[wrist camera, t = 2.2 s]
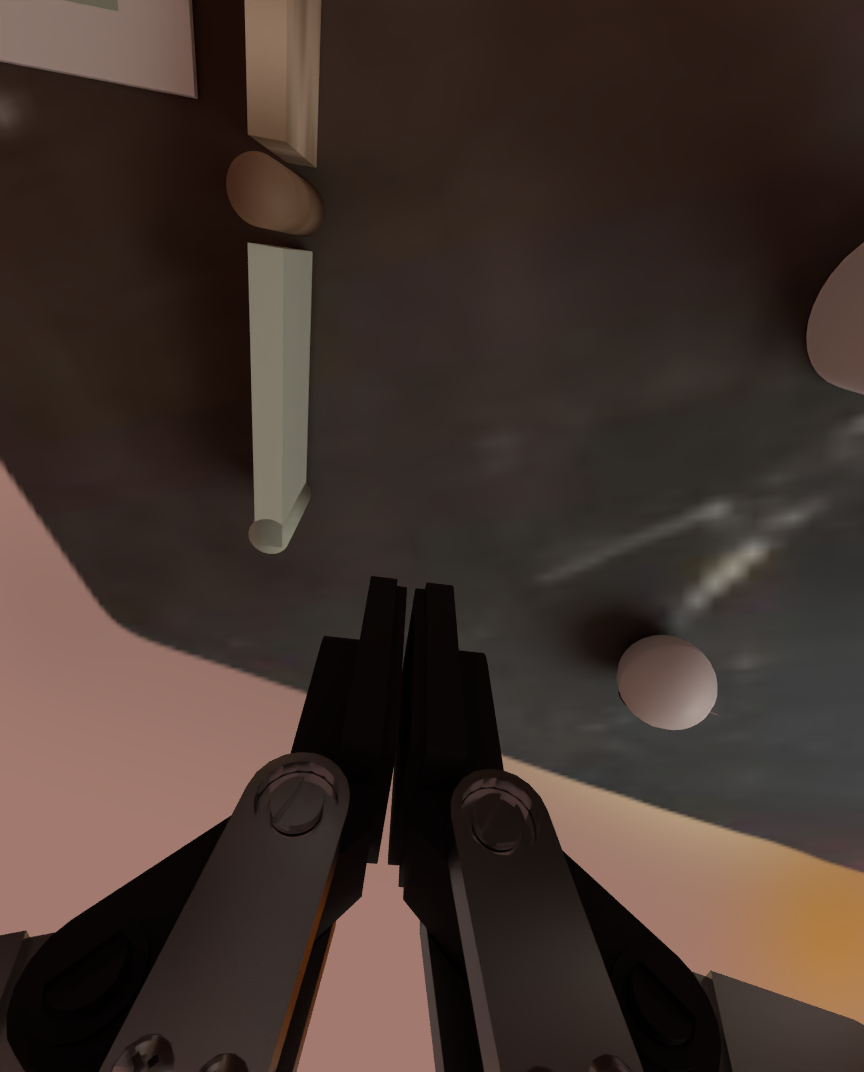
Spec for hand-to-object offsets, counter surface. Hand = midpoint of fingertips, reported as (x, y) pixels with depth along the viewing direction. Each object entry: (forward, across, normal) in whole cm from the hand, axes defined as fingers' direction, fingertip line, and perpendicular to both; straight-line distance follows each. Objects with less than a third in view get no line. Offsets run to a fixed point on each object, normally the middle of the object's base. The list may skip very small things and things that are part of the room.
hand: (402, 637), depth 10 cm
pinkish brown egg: (+17, -18, +14) cm, 29 cm away
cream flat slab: (+17, +6, 0) cm, 18 cm away
